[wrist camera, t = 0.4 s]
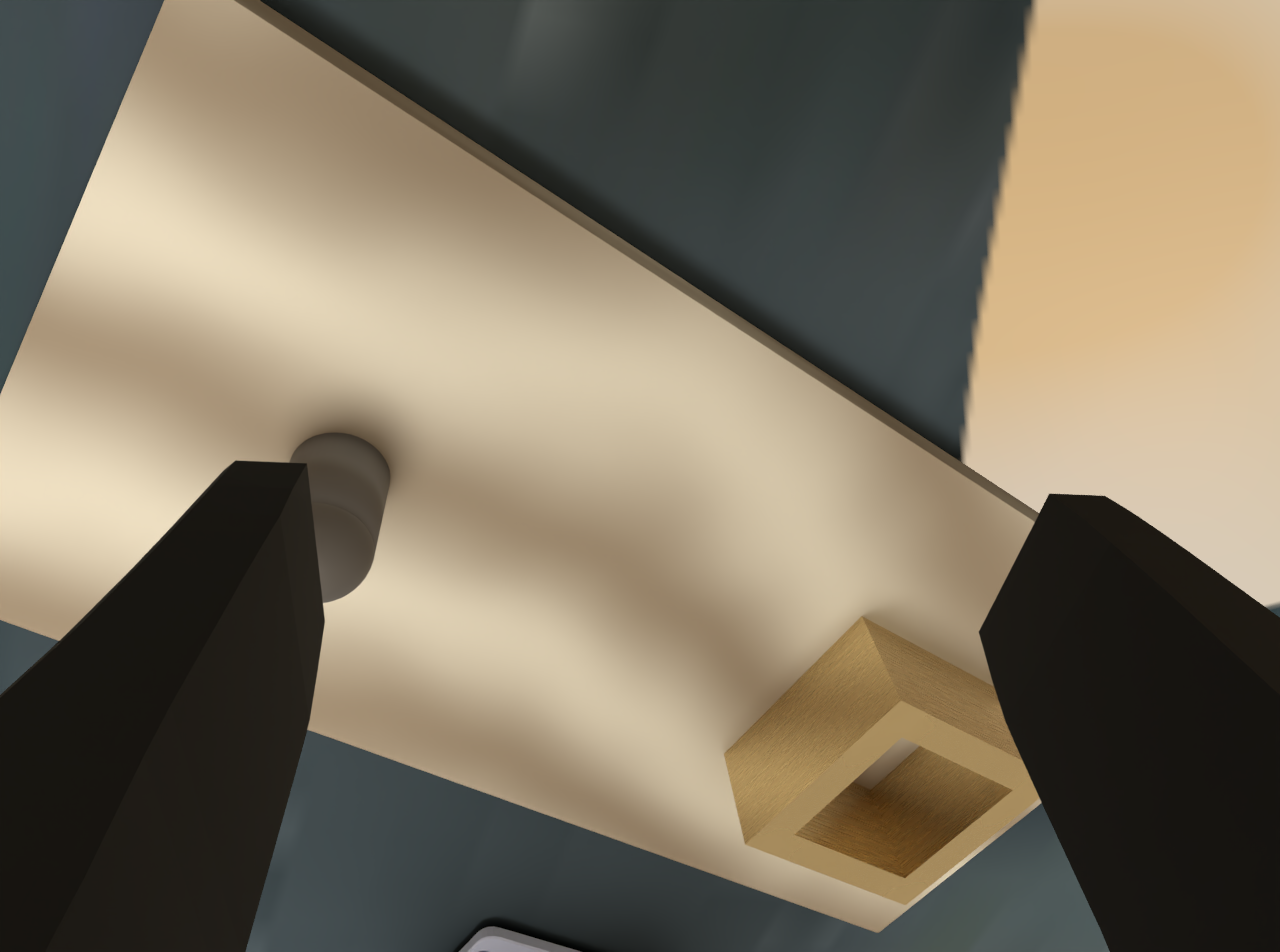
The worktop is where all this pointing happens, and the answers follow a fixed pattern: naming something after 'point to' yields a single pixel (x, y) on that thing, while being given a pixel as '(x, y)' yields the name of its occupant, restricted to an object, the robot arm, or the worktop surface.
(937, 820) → the brass link
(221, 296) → the keeper board
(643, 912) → the worktop surface
